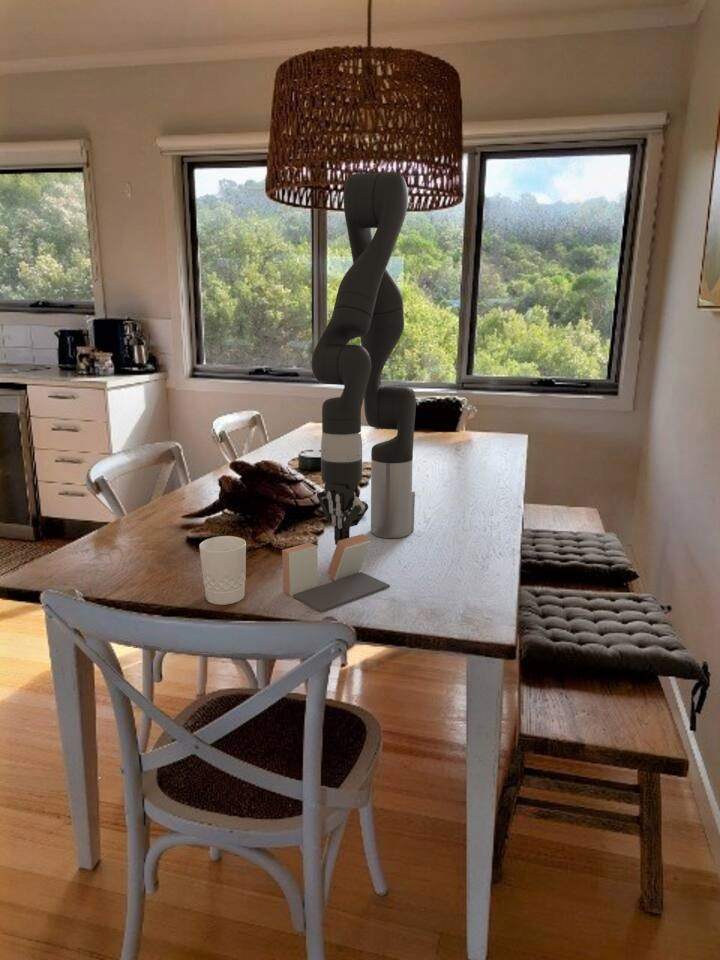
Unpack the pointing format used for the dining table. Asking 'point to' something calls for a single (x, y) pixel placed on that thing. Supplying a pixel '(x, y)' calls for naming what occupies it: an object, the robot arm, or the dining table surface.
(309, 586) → the tile
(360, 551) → the tile
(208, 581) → the white cup
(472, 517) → the dining table surface
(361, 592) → the mat
